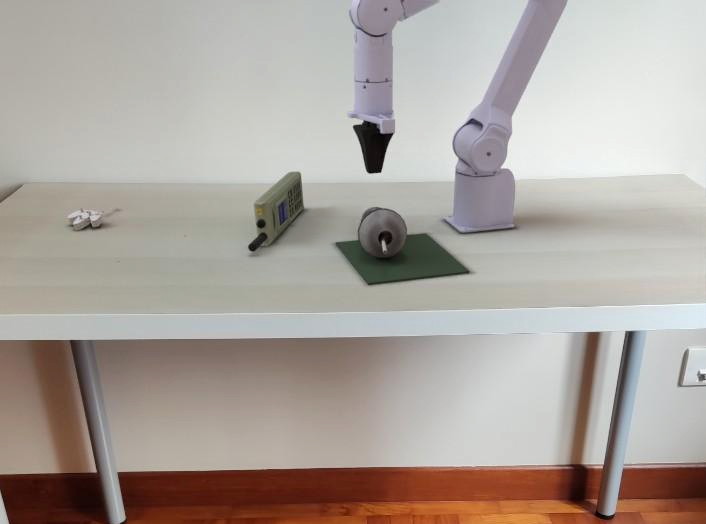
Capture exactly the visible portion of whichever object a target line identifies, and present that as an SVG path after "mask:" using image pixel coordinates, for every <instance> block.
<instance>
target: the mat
mask: <svg viewBox="0 0 706 524" xmlns="http://www.w3.org/2000/svg"><path fill="white" fill-rule="evenodd" d="M335 245H336V246H337V248H338V249H339V250H340V252H341V253H342V254H343V255H344V256H345V257H346V259H347V260H348V261H349V262H350V264H351V265H352V266H353V267H354V268H355V270H356V271H357V273H358V274H359V275H360V276H361V277H362V279H363V280H364V281H365V282H366V284H367V285H369V286H370V285H377V284H387V283H395V282H403V281H412V280H413V281H414V280H421V279H429V278H439V277H447V276H455V275H464V274H470V270H469V269H468V268H467V267H466V266H464V264H462V263H461V262H460V261H459V260H458V259H456V258H455V257H454V256H453V255H452V254H451V253H449V252H448V250H446V249H445V248H444V247H443V246H442V245H441V244H440V243H438V242H437V241H436V240H435V239H433V238H432V237H431V236H430V235H429V234H428V233H427V232H424V233H423V232H422V233H413V234H407V238H406V241H405V244H404V246H403V247H402V249H401V250H400V251H399V252H398V253H396V254H395V255H393V256H391V257H388V258H377V257H374V256H371V255H370V254H368V253H367V252H365V250H364V249H363V248H362V247H361V245H360V242H359V239H356V240H346V241H337V242H335Z"/></svg>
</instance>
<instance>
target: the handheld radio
mask: <svg viewBox="0 0 706 524" xmlns="http://www.w3.org/2000/svg"><path fill="white" fill-rule="evenodd" d="M302 179H303V178H302V173H301V172H300V171H299V170H298V171H289V172H287V173H286V174H285V175H284V176H283V177H281V178H280V179H279V180H278V181H276V183H274V184H273V185H272V186H271V187H270V188H269V189H268V190H267V191H266V192H264V193H263V194H261V196H260V197H259V198H257V199H256V200H255V201H254V202H253V210H254V220H255V227H256V237H255V238H254V239H253V240H252V241H251V242H250V243H249V244H248V246H247V249H248V251H249V252H251V253H254V252H256V251H257V250H258V248H260V247H268V246H270V245H271V243H273V242H274V241H275V240H276V239H277V238H278V237H279V235H281V233H282V232H283V231H284V230H285V229H286V228H287V227H288V226H289V224H290V223H292V222H293V220H294V219H296V217H297V216H298V215H299V214H300V213H301V212H302V211H303V210H304V208H305V205H304V193H303V192H304V191H303V182H302Z"/></svg>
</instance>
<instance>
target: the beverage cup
mask: <svg viewBox="0 0 706 524" xmlns="http://www.w3.org/2000/svg"><path fill="white" fill-rule="evenodd" d="M407 235H408V228H407V224H406V222H405V220H404V218H403V217H402V216H401V215H400V214H399V213H398V212H396V211H395V210H393V209H390V208H386V207H385V208H384V207H379V206H372V207H369V208H367V209H365V210H364V212H363V213H362V216H361V219H360V222H359V226H358V229H357V240H359V242H360V245H361V247H362V248H363V249H364V250H365V252H367V253H368V254H370V255H371V256H374V257H377V258H388V257H391V256H393V255H395V254H396V253H398V252H399V251H400V250H401V249H402V247H403V246H404V244H405V241H406V238H407Z"/></svg>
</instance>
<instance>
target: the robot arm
mask: <svg viewBox="0 0 706 524" xmlns="http://www.w3.org/2000/svg"><path fill="white" fill-rule="evenodd" d="M441 1H442V0H352V2H351V6H350V9H349V10H348V16H349V18H350V21H351V24H352V25H353V26H354V34H353V36H354V37H353V39H354V46H353V77H354V78H353V79H354V80H353V81H354V84H353V85H354V86H353V87H354V88H353V89H354V103H353V110H349V111H346V116H347V117H348V118H349V119H357V120H361V121H362V122H361V123H359V124H353V125H352V129H353V132H354V134H355V136H356V137H357V140H358V143H359V145H360V150H361V154H362V158H363V163H364V167H365V171H366V173H367V174H369V175H372V174H381V173H382V171H383V167H384V163H385V158H386V155H387V150H388V147H389V144H390V142H391V140H392V138H393V135H395V133H396V119H395V118H394V116H395V111H394V109H393V108H394V107H393V105H394V104H393V101H394V98H393V97H394V94H393V93H394V92H393V91H394V83H393V82H394V46H393V30H394V29H395V28H396V26H397V24H398V22H404V21H405V20H408V19H410V18H412V17H413V16H415V15H417V14H419V13H421V12H423V11H425V10H427V9H429V8H431V7H433V6H435V5H437V4H439V3H440V2H441ZM568 1H569V0H528V1H527V4H526V5H525V8H524V10H523V12H522V14H521V17H520V18H519V21H518V22H517V25H516V27H515V29H514V31H513V34H512V36H511V38H510V40H509V41H508V44H507V47H506V49H505V51H504V53H503V55H502V57H501V59H500V61H499V64H498V65H497V68H496V70H495V72H494V74H493V76H492V79H491V81H490V82H489V85H488V87H487V89H486V92H485V94H484V96H483V97H482V100H481V102H480V103H479V104H478V105H477V106H475V108H473V109H472V110H471V111H470V113H469V115H468V117H467V119H466V120H465V121H464V123H462V125H460V126H459V127H457V129H456V131H455V132H454V133H453V136H452V139H451V140H452V142H451V146H452V151H453V153H454V155H455V156H456V157H457V163H456V164H455V167H454V169H455V171H454V188H453V189H454V190H453V207H452V209H453V211H452V212H453V213H452V215H448V216H447V215H446V216H444V217H443V219H444V221H446V223H448V224H450V225H451V226H452V227H453V228H455V230H457V231H458V232H460V233H462V234H465V233H474V232H482V231H483V232H485V231H495V230H505V229H512V228H515V224H514V211H515V199H516V179H515V176H514V174H513V171H512V170H511V169H510V168H505V167H503V165H504V164H505V162H506V160H507V157H508V145H509V141H510V140H511V139H510V138H511V137H512V135H513V116H514V113H515V111H516V109H517V107H518V106H519V104H520V101H521V99H522V98H523V95H524V93H525V91H526V89H527V86H528V85H529V83H530V80H531V78H532V76H533V75H534V72H535V70H536V68H537V67H538V64H539V62H540V60H541V58H542V56H543V53H544V52H545V50H546V47H547V46H548V44H549V41H550V39H551V38H552V35H553V33H554V31H555V29H556V27H557V25H558V23H559V20H560V19H561V16H562V14H563V13H564V11H565V8H566V6H567V3H568ZM502 167H503V168H502Z"/></svg>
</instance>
